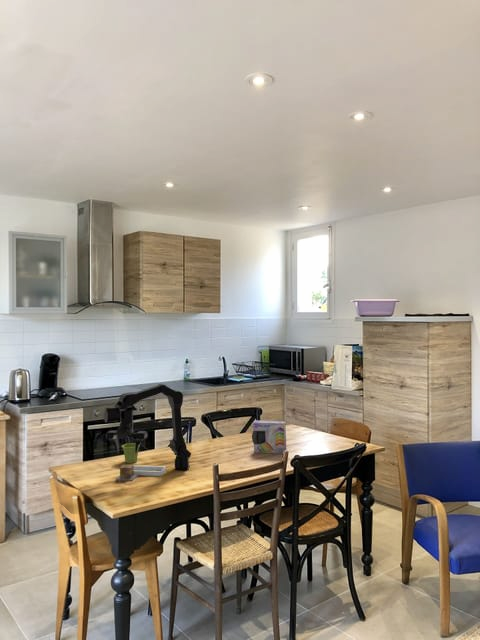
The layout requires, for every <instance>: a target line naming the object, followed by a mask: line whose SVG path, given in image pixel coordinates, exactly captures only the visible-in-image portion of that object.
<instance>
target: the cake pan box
mask: <svg viewBox="0 0 480 640" xmlns="http://www.w3.org/2000/svg"><path fill="white" fill-rule="evenodd" d="M252 426H253V427H252V428H253V429H252V433H251V440H252V442H253V443H252V444H253V452H254V453H258V452H259V453H260V454H261V453H263V454H280V455H281V454H283V451H284V450H287V434H286V433H287V432H286V421H278V420H277V421H276V420H257V419H255V420H254V421H253V422H252ZM259 453H258V454H259ZM283 455H284V454H283Z"/></svg>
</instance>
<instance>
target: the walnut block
mask: <svg viewBox="0 0 480 640" xmlns="http://www.w3.org/2000/svg"><path fill="white" fill-rule="evenodd" d="M134 466H135V465H134V464H123V465H121V466H119V476H120V478H129V479H130V478H131V477H132V476H134Z"/></svg>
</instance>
